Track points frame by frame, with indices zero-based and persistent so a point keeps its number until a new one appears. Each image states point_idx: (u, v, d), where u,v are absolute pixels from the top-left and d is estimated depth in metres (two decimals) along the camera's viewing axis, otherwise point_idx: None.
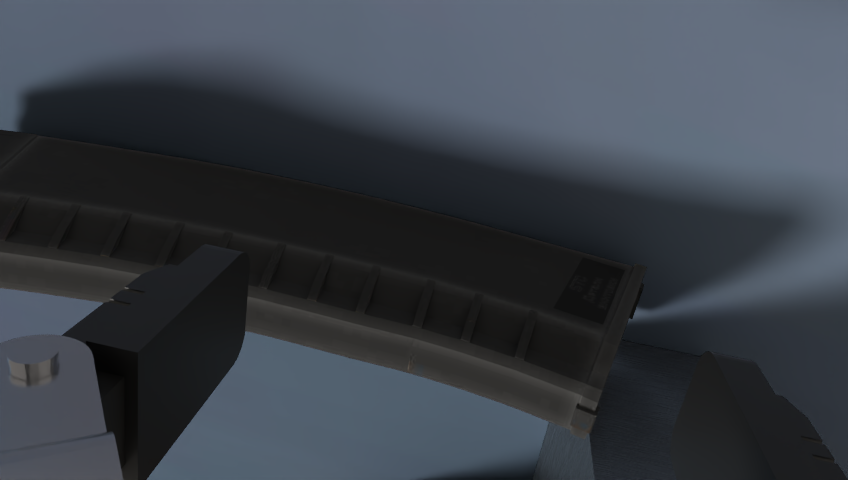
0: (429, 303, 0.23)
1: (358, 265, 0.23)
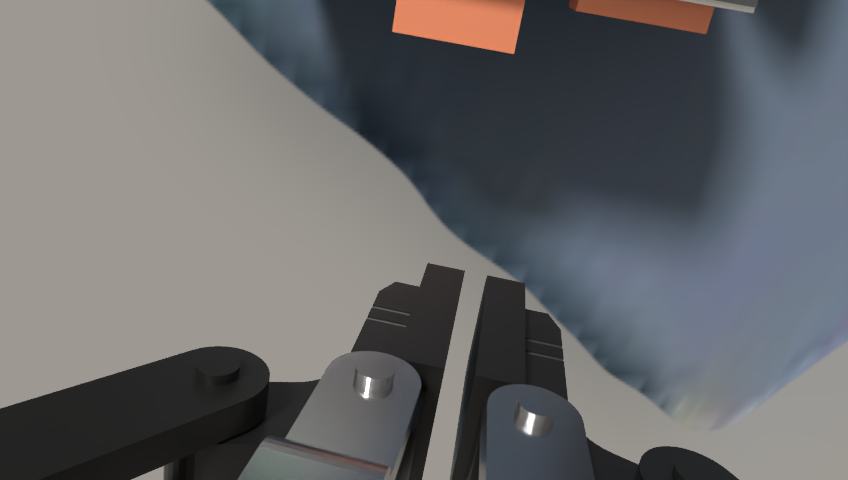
0: None
1: None
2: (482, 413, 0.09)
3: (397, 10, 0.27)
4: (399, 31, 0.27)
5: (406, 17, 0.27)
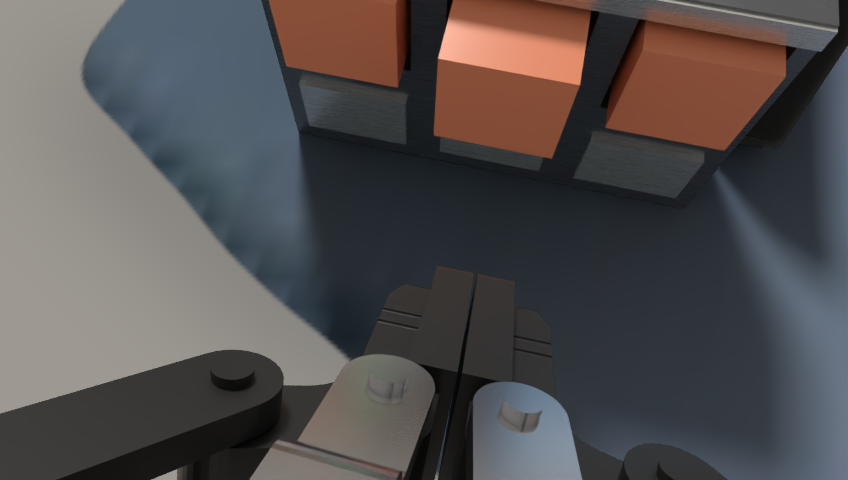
0: None
1: None
2: (469, 410, 0.09)
3: (445, 39, 0.24)
4: (446, 58, 0.23)
5: (455, 47, 0.24)
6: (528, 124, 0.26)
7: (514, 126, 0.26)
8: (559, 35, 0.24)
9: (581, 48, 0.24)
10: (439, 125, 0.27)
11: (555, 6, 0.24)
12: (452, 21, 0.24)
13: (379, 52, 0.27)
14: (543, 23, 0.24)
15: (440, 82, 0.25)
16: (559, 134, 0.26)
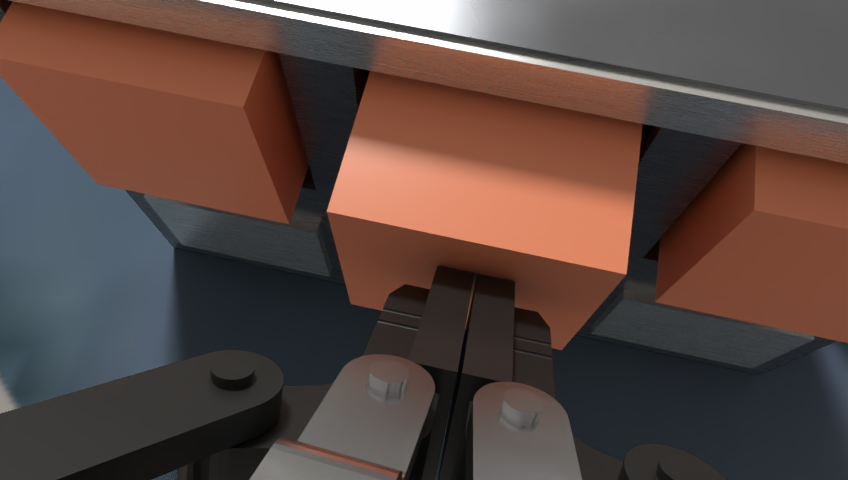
0: None
1: None
2: (469, 410, 0.09)
3: (345, 168, 0.11)
4: (344, 211, 0.11)
5: (364, 185, 0.11)
6: None
7: None
8: (581, 158, 0.12)
9: (627, 187, 0.11)
10: (358, 295, 0.15)
11: None
12: (362, 127, 0.12)
13: (241, 177, 0.15)
14: (548, 131, 0.12)
15: (342, 244, 0.12)
16: (577, 327, 0.14)
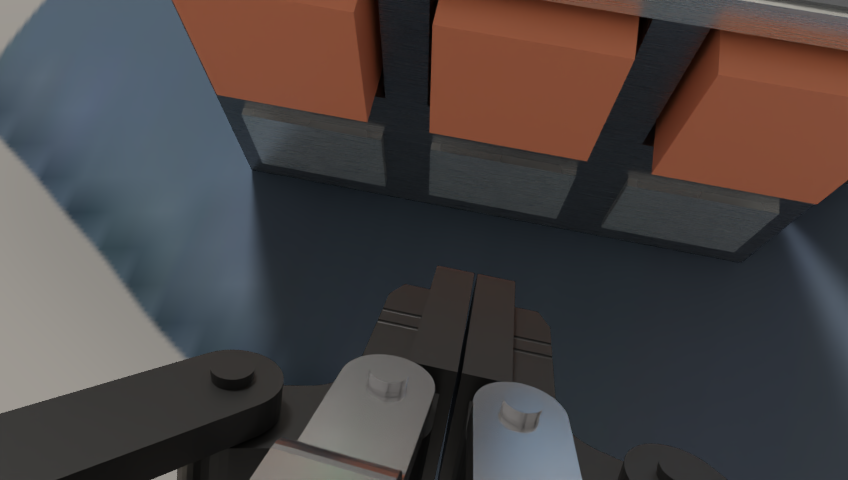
0: None
1: None
2: (469, 411, 0.09)
3: None
4: (444, 24, 0.17)
5: (456, 8, 0.17)
6: (557, 115, 0.19)
7: (538, 119, 0.19)
8: None
9: None
10: (437, 119, 0.20)
11: None
12: None
13: (338, 77, 0.19)
14: None
15: (436, 59, 0.18)
16: (599, 129, 0.19)
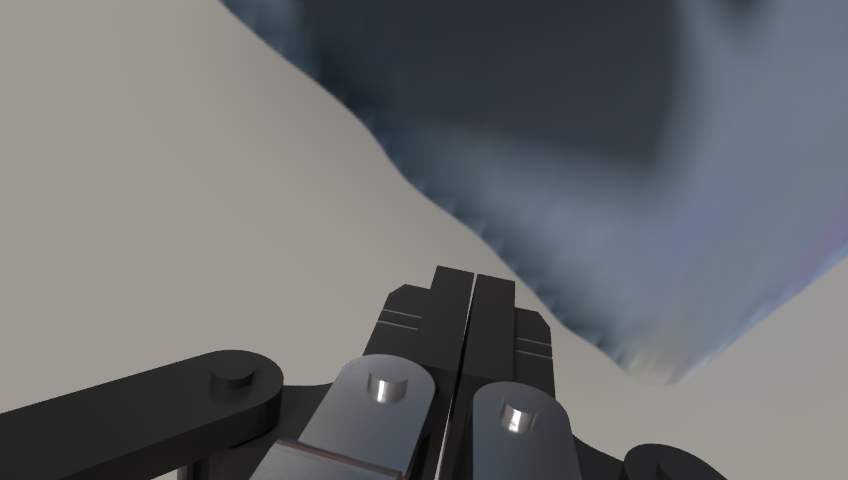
0: None
1: None
2: (469, 410, 0.09)
3: None
4: None
5: None
6: None
7: None
8: None
9: None
10: None
11: None
12: None
13: None
14: None
15: None
16: None
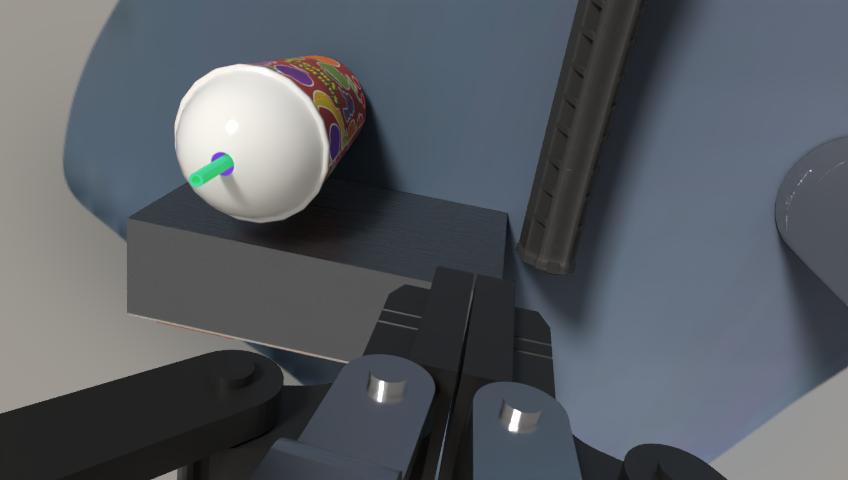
0: None
1: (610, 124, 0.39)
2: (469, 410, 0.09)
3: None
4: (270, 346, 0.41)
5: None
6: None
7: None
8: None
9: None
10: None
11: None
12: None
13: None
14: None
15: None
16: None
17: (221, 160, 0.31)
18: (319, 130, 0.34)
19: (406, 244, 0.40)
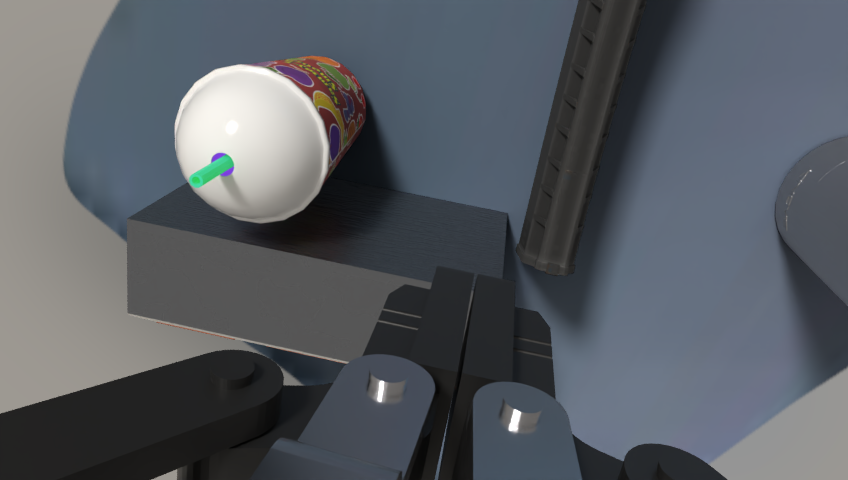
0: None
1: None
2: (469, 411, 0.09)
3: None
4: None
5: None
6: None
7: None
8: None
9: None
10: None
11: None
12: None
13: None
14: None
15: None
16: None
17: (221, 161, 0.31)
18: (319, 130, 0.34)
19: (406, 244, 0.40)
